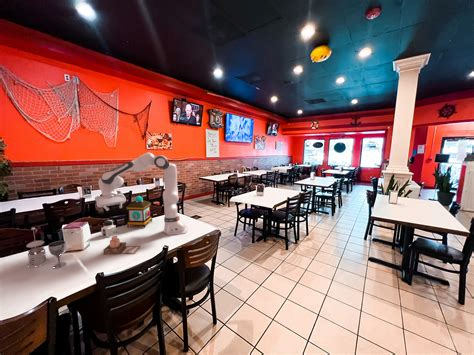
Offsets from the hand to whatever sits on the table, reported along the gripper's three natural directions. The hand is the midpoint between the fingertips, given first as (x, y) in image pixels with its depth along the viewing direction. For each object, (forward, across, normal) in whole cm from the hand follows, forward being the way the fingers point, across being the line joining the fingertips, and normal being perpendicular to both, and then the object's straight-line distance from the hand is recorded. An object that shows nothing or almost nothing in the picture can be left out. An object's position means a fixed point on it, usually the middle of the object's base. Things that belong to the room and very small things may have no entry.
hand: (114, 209), depth 150 cm
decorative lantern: (+5, +31, +36) cm, 48 cm away
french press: (+14, -43, +29) cm, 54 cm away
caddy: (+33, -2, +7) cm, 33 cm away
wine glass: (+24, -35, +18) cm, 46 cm away
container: (+6, +3, +35) cm, 36 cm away
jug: (+29, -6, +10) cm, 31 cm away
